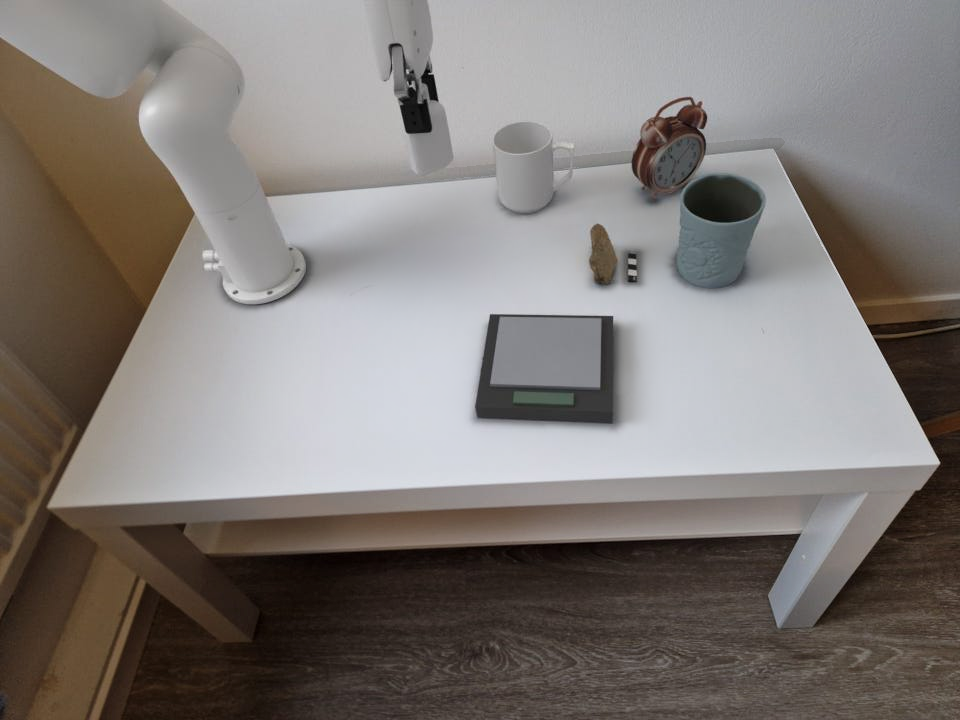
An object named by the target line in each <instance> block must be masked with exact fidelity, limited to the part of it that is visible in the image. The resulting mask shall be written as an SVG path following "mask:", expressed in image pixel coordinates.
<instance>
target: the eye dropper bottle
mask: <svg viewBox="0 0 960 720" xmlns="http://www.w3.org/2000/svg"><path fill="white" fill-rule="evenodd" d="M408 86H409V85H408ZM409 87H413V88H414V89H415V82H414V81H412V85H410V86H409ZM422 90H423V97H424V99H427V103H428V108H429V113H430V118H431V123H432V131H431V132H430V133H417V134H407V133H406V131H405V127H404V123H403V119H402V115H401V116H400V118H399V123H400V127H401V133H402V137H403V141H404V144H405V149H406V154H407V158H408V162H409V167H410V169H411V171H412V172H413V173H414V174H416V175H417V176H419V177H422V176H423V177H425V176H427V175H431V174H434V173H435V174H436V173H437V172H440V171H442V170H444V168H446V167H448V165H450V164H451V163H452V162H453V161H454V152H453V146H452V141H451V140H452V139H451V134H450V129H449V124H448V117H447V113H446V109H445V106H443V104H442V103H440V101H439V102H437V101H435V100H430V98H429V93H428V88H427V85H426V84H424V83H422ZM415 91H416V89H415Z"/></svg>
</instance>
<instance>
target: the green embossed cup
mask: <svg viewBox="0 0 960 720" xmlns="http://www.w3.org/2000/svg"><path fill="white" fill-rule="evenodd" d="M687 183H688V184H687V185H686V186H685V185H684V188H682V191H681V193H680V200H679V201H680V204H679V226H680V229H679V233H678V234H679V235H678V245H677V251H676V269H677V271H678V274H679V275H680V276H681V278H683V280H685V281H686V282H687V283H689V284H691V285H694V286H696V287H700V288H704V289H718V288H724V287H726V286H729V285H730V284H732V283H734V282H735V281H736V280H737V279H738V278H739V276H740V274H741V272H742V269H743V267H744V264H745V261H746V258H747V254H748V251H749V248H750V246H751V242H752V240H753V237H754V234H755V231H756V229H757V227H758V225H759V223H760V220H761V217H762V215H763V213H764V210H765V207H766V202H767V199H766V193H765V191H764V190H763V188H762V187H760V185H759V184H757V183H756V182H755V181H753V180H752V179H750V178H748V177H745V176H743V175H739V174H736V173H728V172H714V173H707V174H704V175H700V176H698V177H696V178H693V179H691V180H690V181H688V182H687Z"/></svg>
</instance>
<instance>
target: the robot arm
mask: <svg viewBox="0 0 960 720" xmlns="http://www.w3.org/2000/svg"><path fill="white" fill-rule="evenodd" d="M364 4H365V11H366V18H367V25H368V30H369V35H370V40H371V44H372V50H373V55H374V60H375V65H376V69H377V74H378V78H379V79H380V80H381V81H382V82H387V81H389V80H390V78H391V75H392V80H393V81H392V83H393V84H392V85H393V94H394V96H395V97H396V98H397V103H398V105H399V109H400V114H401V116H402V119H403V123H404V127H405V131H406V133H407V134H417V133H430V132H431V131H432V123H431V118H430V113H429V108H428V103H427V99H424V97H423V90H422V83H424V84H426V85H427V88H428V93H429V98H430V100H435V101H437V102H439V103H440V101H439V100H440V99H439V95H438V91H437V90H438V89H437V84H436V78H435V74H434V73H433V62H432V60H431V59H432V58H431V56H430V55H431V51H432V48H433V42H434V33H433V24H432V18H431V12H430V6H429V1H428V0H364ZM0 39H2V40H3V41H5V42H6V43H7V44H9V45H11V46H12V47H13V48H15V49H17V50H18V51H20V52H22V53H23V54H24V55H27V57H29V58H31V59H33V60H34V61H36V62H37V63H39V64H40V65H42V66H44V67H45V68H47V69H48V70H50V71H51V72H52V73H53V72H54V73H55V74H57V75H58V76H59V77H60V78H63V79H64V80H66V81H68V82H69V83H71V84H72V85H74V86H75V87H77V88H79V89H80V90H82V91H84V92H86V93H88V94H90V95H92V96H95V97H97V98H101V99H114V98H118V97H120V96H121V95H123V94H125V93H126V92H128V91H129V90H130V89H131V88H132V86H133V85H134V84H135V82H136V81H137V80H138V79H139V78H140V76H141V75H142V73H143V72H144V71H146V72H147V73H149V74H150V75H152V76H154V78H153V79H152V81H151V83H150V84H149V85H148V87H147V88H146V91H145V92H144V94H143V96H142V99H141V102H140V105H139V110H138V125H139V129H140V132H141V135H142V137H143V138H144V140H145V142H146V144H147V145H148V147H149V148H150V149H151V151H152V152H153V153H154V154H155V155H156V156H157V157H158V159H159V161H161V162H162V163H163V165H164V166H165V167H166V169H167V170H168V171H169V172H170V174H171V175H172V177H173V178H174V180H175V182H176V183H177V185H178V187H179V189H180V190H181V191H182V193H183V195H184V197H185V198H186V201H187V202H188V204H189V206H190V207H191V209H192V211H193V213H194V214H195V217H196V218H197V220H198V222H199V223H200V225H201V227H202V229H203V231H204V233H205V234H206V237H207V238H208V240H209V242H210V243H211V245H212V247H213V249H204V250H203V251H202V260H203V262H204V265H203V269H204V271H205V273H217V272H218V273H219V274H221V275H222V286H223V289H224V291H225V292H226V294H227V295H228V297H229V298H230V299H231V300H233V301H235V302H237V303H240V304H244V305H262V304H266V303H271V302H273V301H275V300H278V299H280V298H282V297H284V296H286V295H288V294H289V293H290V292H292V291H293V290H294V289H295V288H297V286H298V285H299V284H300V282H301V281H302V280H303V278H304V276H305V274H306V270H307V262H306V260H305V257H304V255H303V253H302V251H301V250H300V249H298V248H297V247H295V246H294V245H292V244H288V243H287V242H286V239H285V238H284V235H283V232H282V230H281V228H280V226H279V224H278V221H277V219H276V217H275V214H274V212H273V210H272V207H271V205H270V203H269V200H268V198H267V196H266V194H265V192H264V189H263V187H262V185H261V183H260V180H259V178H258V176H257V174H256V171H255V168H254V167H253V165H252V163H251V161H250V159H249V158H248V157H247V155H246V154H245V153H244V151H242V149H241V148H240V147H239V146H238V145H237V144H236V143H235V142H234V140H233V138H232V136H231V130H230V127H231V124H232V123H233V120H234V117H235V115H236V113H237V110H238V108H239V106H240V104H241V102H242V99H243V97H244V93H245V87H246V82H245V76H244V72H243V70H242V68H241V66H240V64H239V63H238V61H237V59H236V58H235V57H234V56H233V55H232V53H230V52H229V50H227V49H226V48H225V47H224V46H223V45H222V44H221V43H219V42H218V41H217V40H215V39H214V38H213V37H212V36H210V35H209V34H208V33H206V32H205V31H204V30H202V29H201V28H199V26H197V25H196V24H194V23H193V22H192V21H190V20H189V19H188V18H186V17H185V16H183V15H182V14H181V13H180V12H179V11H177V10H176V9H174V8H173V7H172V6H171V5H169V4H168V3H167V2H165V1H164V0H0ZM407 72H408V73H407ZM412 81H414V82H415V89H416V91H415V89H414V88H413V87H409V86H410V85H412Z"/></svg>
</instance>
